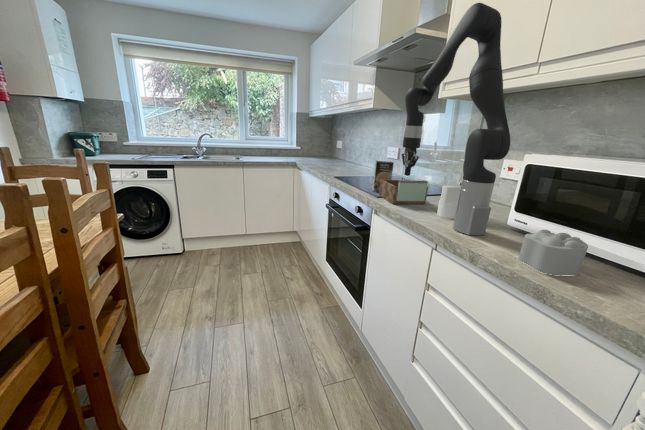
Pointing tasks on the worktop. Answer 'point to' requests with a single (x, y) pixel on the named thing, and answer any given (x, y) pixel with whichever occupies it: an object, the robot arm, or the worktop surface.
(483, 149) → the robot arm
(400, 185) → the panel
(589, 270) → the worktop surface
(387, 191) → the box
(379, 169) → the coffee box
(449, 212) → the cylinder with rectangular tab
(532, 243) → the lumpy-topped squat cylinder
